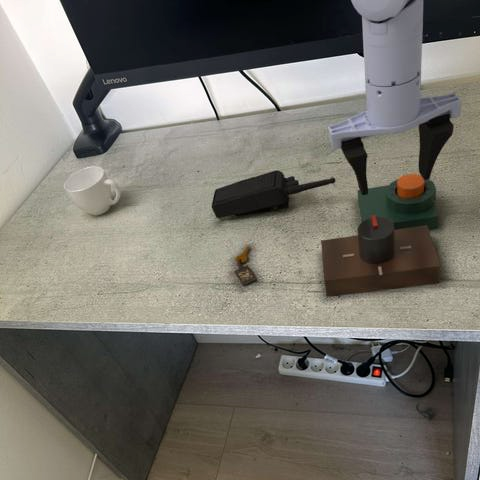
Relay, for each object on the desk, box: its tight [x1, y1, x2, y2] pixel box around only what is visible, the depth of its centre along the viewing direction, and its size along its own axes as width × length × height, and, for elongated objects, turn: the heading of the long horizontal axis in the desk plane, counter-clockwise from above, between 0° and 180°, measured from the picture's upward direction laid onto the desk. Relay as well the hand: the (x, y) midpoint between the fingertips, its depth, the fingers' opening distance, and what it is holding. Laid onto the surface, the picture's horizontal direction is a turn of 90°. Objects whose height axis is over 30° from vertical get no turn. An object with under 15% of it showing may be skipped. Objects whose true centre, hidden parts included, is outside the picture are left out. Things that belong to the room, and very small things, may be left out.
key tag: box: [234, 245, 258, 287], centre depth 72 cm, size 8×3×1 cm, turn 7°
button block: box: [357, 178, 440, 230], centre depth 71 cm, size 10×9×4 cm
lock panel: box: [320, 225, 441, 297], centre depth 64 cm, size 14×9×3 cm, turn 87°
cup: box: [63, 166, 122, 217], centre depth 90 cm, size 8×10×7 cm
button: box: [397, 173, 425, 199], centre depth 68 cm, size 4×4×2 cm
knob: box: [357, 215, 394, 263], centre depth 62 cm, size 4×4×4 cm
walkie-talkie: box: [211, 170, 336, 219], centre depth 78 cm, size 6×6×20 cm
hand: (393, 183), depth 62 cm, fingers open, 7 cm apart
